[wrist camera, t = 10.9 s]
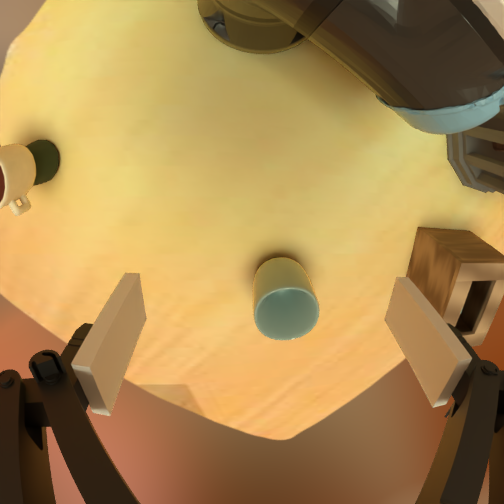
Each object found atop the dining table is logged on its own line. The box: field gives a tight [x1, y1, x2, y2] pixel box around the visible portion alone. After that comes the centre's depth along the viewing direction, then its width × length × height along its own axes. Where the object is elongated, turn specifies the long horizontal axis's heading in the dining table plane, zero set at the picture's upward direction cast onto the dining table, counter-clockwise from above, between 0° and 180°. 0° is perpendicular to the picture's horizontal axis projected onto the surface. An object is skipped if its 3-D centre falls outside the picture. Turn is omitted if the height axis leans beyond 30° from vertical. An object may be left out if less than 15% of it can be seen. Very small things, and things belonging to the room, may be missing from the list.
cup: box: [252, 257, 319, 340], centre depth 41 cm, size 8×8×10 cm
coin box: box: [406, 227, 504, 347], centre depth 41 cm, size 14×11×12 cm
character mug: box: [0, 140, 59, 216], centre depth 31 cm, size 11×7×13 cm, turn 27°
